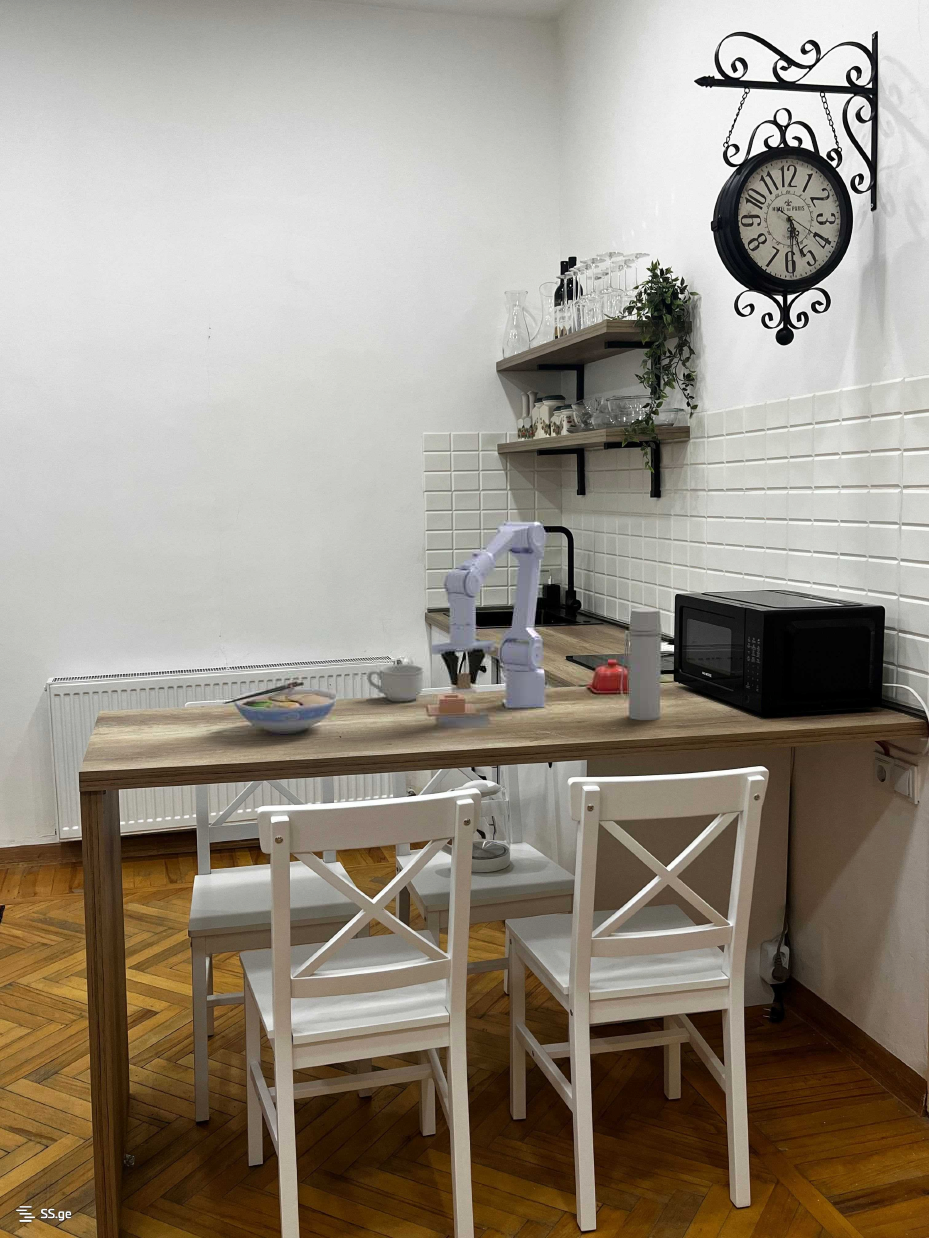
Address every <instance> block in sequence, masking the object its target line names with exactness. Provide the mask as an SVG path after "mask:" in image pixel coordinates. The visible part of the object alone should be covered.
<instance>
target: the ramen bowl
mask: <svg viewBox="0 0 929 1238" xmlns="http://www.w3.org/2000/svg"><path fill="white" fill-rule="evenodd" d="M300 686H304V681H303V682H302V681H300V682H298V681H293V682H289V683H286V684H283V685H279V686H275V687H272V688H269V689H262V690H254V691H250V692H246V693H242V694H240V695H237V696H235V697H234V698H233V699H232V700H229V701H226V702H223V703H222V705H223V704H226V705H228V704H231V703H233V705H234V707H236V708H235V709H236V710H237V711H238V712H239V713H240V715H241V716H242V717H243V718H244V719H245V720H246V721H247V722H248V723H250V724H251V725H253V726H255V727H258V728H259V729H263V730H267V731H269V732H270V733H272V734H279V735H288V734H296V733H301V732H302V731H304V730H306V729H308V728H310V727H312V726H315V725H316V724H318V723H321V722H322V721H323V720H325V718H326V717H327V716H328V715H329V714H330V712H331V710H332V709H333V707H334V706H335V703H336V702H337V699H338V697H339V694H337V693H336V692H334V691H332V690H326V689H322V688H321V689H320V688H308V687H307V688H306V687H300Z"/></svg>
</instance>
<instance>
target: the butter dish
mask: <svg viewBox="0 0 929 1238" xmlns="http://www.w3.org/2000/svg"><path fill="white" fill-rule="evenodd" d="M606 662H607V665H603V666H600V667H599V666H598V667H597V668H596V669H595V670H594V672H593V677H592V682H590V683H587V687H589V688H590V690H591V691H593V692H594V693H596V694H602V695H605V694H606V695H607V694H621V686H620V685H621V677H622V669H623V666H620V665H617V664H618V661H617V660H616V659H609V660H607V661H606ZM622 692H623V694H627V668H625V667H624V672H623V681H622Z"/></svg>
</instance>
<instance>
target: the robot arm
mask: <svg viewBox="0 0 929 1238" xmlns="http://www.w3.org/2000/svg"><path fill="white" fill-rule="evenodd" d="M546 539H547V533H546V531H545V529H544V526H543V524H542V523H541V522H539V521H533V522H532V521H529V522H528V521H525V522H524V521H507V520H506V521H504V522H502V523H501V525H500V526H498V527H497V533H496V536H495V537H494V538H493V539H492V540H491V542H490V543H489V544H488V545H487V546H486V548H484V550H474V551H473V552H472V555H471V556H470V557H469V558H467V560H466V561H465V562H464V563H462V564H461V566H460V567H459V568H457V569H452V570H450V572H448V573H447V574H446V576H445V578H444V582H443V588H444V592H445V593H446V597H447V602H448V603H449V642H445V643H438V644H430V651H431V652H430V654H431V655H436V656H437V655H440V656H441V658H442V660H443V663H444V665H445V667H446V669H447V672H448V676H449V679H450V685H451V686H457V684H458V673H459V672H458V669H459V660H460V656H459V655H457V653H466V655H467V662H468V663H467V664H468V673H470V675H471V684H472V685H476V682H477V677H478V674H479V670H480V667H481V666H482V663H483V661H484V659H485V658H486V652H484V651H495V641H492V640H476V639H477V638H476V637H477V636H476V635H477V633H476V632H477V630H476V629H477V626H476V625H477V624H476V621H477V620H476V618H477V617H476V596H477V595H478V594H479V593H480V591H481V588H482V585H483V584H484V581H485V579H486V578H487V577H488V576H489V575H490V574H491V573H492V572H493V571H494V570H495V567H496V561H497V560H499V559H500V558H501V557H502V556H503V555H505V554H506V553H507V552H508V553H509V554H510V555H511V556H512V557H514V558H516V560H517V562H518V570H517V578H516V588H515V596H514V604H513V605H514V606H513V613H512V614H513V615H512V620H511V627H510V628H509V629H508V630H506V631H505V632H504V633H503V634H502V635H501V636H502V637H501V642H500V644H499V646H498V650H497V658H498V660H499V663H500V664H501V665H502V668H503V669H505V699H503V700H502V703H503V705H504V707H505V708H506V709H524V708H528V709H529V708H546V674H545V670H544V668H539V667H540V666H541V665H542V663H543V660H544V650H543V640H544V639H543V638H542V636H541V635H540V634H539V633H538V632H537V631H535V629H534V628H535V621H536V620H535V619H536V613H537V612H536V611H537V602H538V595H539V585H540V584H539V583H540V576H541V569H542V568H541V567H542V566H541V565H542V559H543V558H544V556H545V550H546V549H545V548H546V541H547V540H546ZM518 640H519V641H518ZM520 640H522V641H520Z"/></svg>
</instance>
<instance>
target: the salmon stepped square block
mask: <svg viewBox="0 0 929 1238" xmlns="http://www.w3.org/2000/svg"><path fill="white" fill-rule="evenodd" d="M426 707H427V711H428V716H429V717H436V716H463V715H478V714H477V711H476V708H475V706H474V704H473V703H466V699H465V696H464V693H461V694H453V693H447V694H446V693H445V694H444V693H443V694H437V704H427V705H426Z"/></svg>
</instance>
